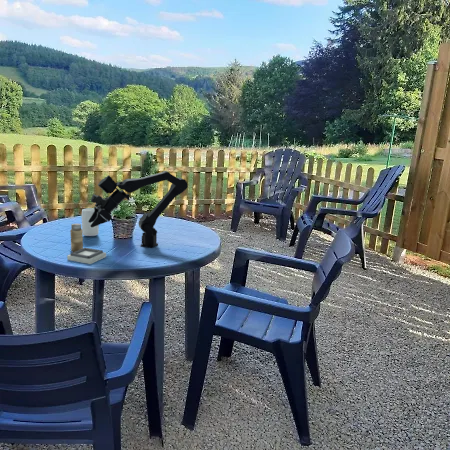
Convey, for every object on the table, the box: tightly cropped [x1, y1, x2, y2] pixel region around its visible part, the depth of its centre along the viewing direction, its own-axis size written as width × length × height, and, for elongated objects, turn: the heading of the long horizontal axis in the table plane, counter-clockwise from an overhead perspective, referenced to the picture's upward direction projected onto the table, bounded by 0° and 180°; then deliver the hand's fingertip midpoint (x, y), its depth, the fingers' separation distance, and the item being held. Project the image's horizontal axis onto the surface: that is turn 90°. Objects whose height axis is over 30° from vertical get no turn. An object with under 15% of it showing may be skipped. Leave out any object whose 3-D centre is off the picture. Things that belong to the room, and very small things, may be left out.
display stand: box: [66, 247, 107, 265], centre depth 186 cm, size 12×11×3 cm
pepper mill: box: [69, 223, 84, 253], centre depth 195 cm, size 5×5×12 cm
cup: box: [81, 207, 100, 237], centre depth 219 cm, size 8×8×14 cm
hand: (90, 224), depth 196 cm, fingers open, 9 cm apart
